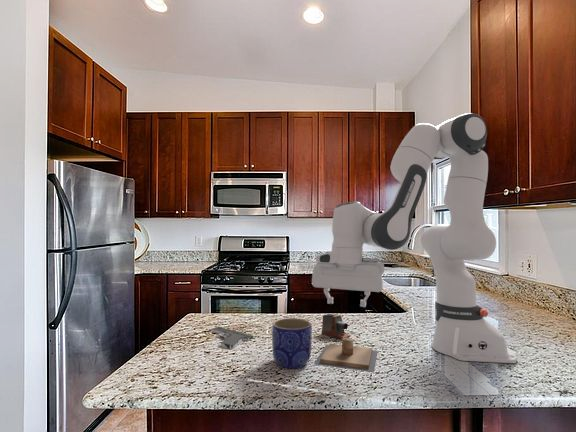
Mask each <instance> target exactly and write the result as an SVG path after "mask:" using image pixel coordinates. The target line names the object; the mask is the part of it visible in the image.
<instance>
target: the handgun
mask: <svg viewBox="0 0 576 432" xmlns="http://www.w3.org/2000/svg"><path fill="white" fill-rule="evenodd" d="M211 332H212V333H215V334H217V338H218V339H223V341H221V342H220V347H222V348H226V349H229V350H234V349H236V348H237V347H238V346H239V345H240V343H242V342H245V341H246V342H249V341H251V340H253V339H254V335H253V334H251V333H250V334H249V333H245V332H243V331H239V330H234V329H230V328H225V327H223V326H222V327H221V326H216V327H215V326H214V328H211Z"/></svg>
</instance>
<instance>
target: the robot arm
mask: <svg viewBox="0 0 576 432" xmlns="http://www.w3.org/2000/svg"><path fill="white" fill-rule="evenodd" d="M487 136H488V128H487V124H486V122H485V120H484V118H483V117H482V116H481V115H479V114H477V113H473V112H471V113H469V112H468V113H464V114H463V113H462V114H460V115H458V116H456V117H453V118H451V119H447V120H446V121H444V122H442V123H441V124H439V125H437V126H434V125H433V124H430V123H426V122H425V123H424V122H422V123H417V124H415V125H414V126H412V128H410V130H409V131H408V132H407V133H406V135H405V136H404V138H403V139H402V141H401V143H400V144H399V145H398V148H397V149H396V151H395V153H394V155H393V157H392V158H391V159H392V160H391V163H390V172H391V175H392V177H394V179H395V180H396V181H398V182H399V187H398V189H397V190H396V194H395V195H394V198H393V200H392V203H391V205H390V206H389V208H388V209H387V210H386V211H384V212H382V213H377V212H375V211H373V210H370V209H369V208H367V207H365V206H364V205H362V203H361V202H360V201H348V202H344V203H343V202H342V203H340V204H337V205H336V206H335V207H334V210H333V215H332V227H331V231H332V237H333V240H332V244H331V251H326V252H324V253H321V254H318V255H316V257H315V260H316V264H315V265H314V266H313V269H312V273H311V274H312V275H311V284H312V286H313V288H320V289H323V293H324V295H325V297H326V300H327V301H326V302H327V303H326V304H329V305H333V304H334V297H333V296H331V294H330V291H331V289H333V290H347V291H359V292H364V293H363V294H364V296H365V297H364V298H363V299H362V298H361V299H360V304H359V307H362V308H366V306H367V300H368V298H369V296H370V295H371V292H372V293H373V292H375V293H380V292H381V291H382V290H383V289H384V286H383V285H384V281H383V273H384V272H385V264H384V263H385V262H383V261H382V260H380V259H379V258H376V257H375V258H370V257H363V252H364V251H363V250H364V249H363V247H364V245H367V246H372V247H379V248H382V249H385V250H388V251H389V250H390V251H391V250H393V251H394V250H398V249H401V248H403V246H405V244H406V243H407V242H408V240H409V239H410V235H411V231H412V230H411V229H412V222H413V221H412V220H413V216H414V214H415V212H416V210H417V209H416V208H417V207H418V203H419V201H420V198H421V196H422V194H423V191H424V188H425V185H426V183H427V178H428V174H427V173H429V169H430V167H431V165H432V163H433V161H434V160H442V159H445V158H449V162H450V169H449V173H448V178H447V182H446V186H445V191H444V192H445V193H444V197H443V204H444V206H445V208H446V209H448V210H449V217H450V223H438V224H435V225H432V226H430V227H427V228H426V229H425V230H424V231H423V232H422V233H421V237H420V243H421V247H422V248H423V250H424V252H426V253H427V255H428V257H429V260H430V261H431V264H432V269H433V271H434V275H435V285H436V286H435V287H436V288H435V289H436V291H435V292H436V293H435V294H436V301H435V302H434V318H435V329H434V334H433V338H432V342H431V348H432V349H433V350H434V351H436V352H439V353H440V354H444V355H446V356H449V357H452V358H454V359H456V360H459V361H465V362H479V363H481V362H482V363H483V362H484V363H501V364H516V363H517V362H518V358H517V355H516V353H515V352H514V351H513V350H512V349H510V347H508V345H507V340H506V339H505V336H504V335H503V333H502V331H500V330H499V329H498V328H497V327H495V326H494V325H493V324H491V323H490V322H488V321H487V320H486V319H485V318H487V317H488V316H489V312H488V310H487V309H485V308H483V307H481V306H479V305H477V284H476V283H477V282H476V279H475V277H474V276H473V275H472V274H471V273H470V271H469V270H468V268H467V266H466V263H465V261H467V262H473V261H479V260H480V261H481V260H485V259H488V258H490V257H491V256H492V255H493V254H494V252H495V250H496V248H497V239H496V238H497V237H496V236H495V234H494V232H493V231H492V230H491V229H490V227H488V225H487V223H486V220H485V217H484V216H485V215H484V200H485V194H486V189H487V183H488V176H489V175H488V174H489V156H488V153H486V152H485V151H484V150H483V149H484V148H485V146H486V144H487V141H486V140H487Z"/></svg>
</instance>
